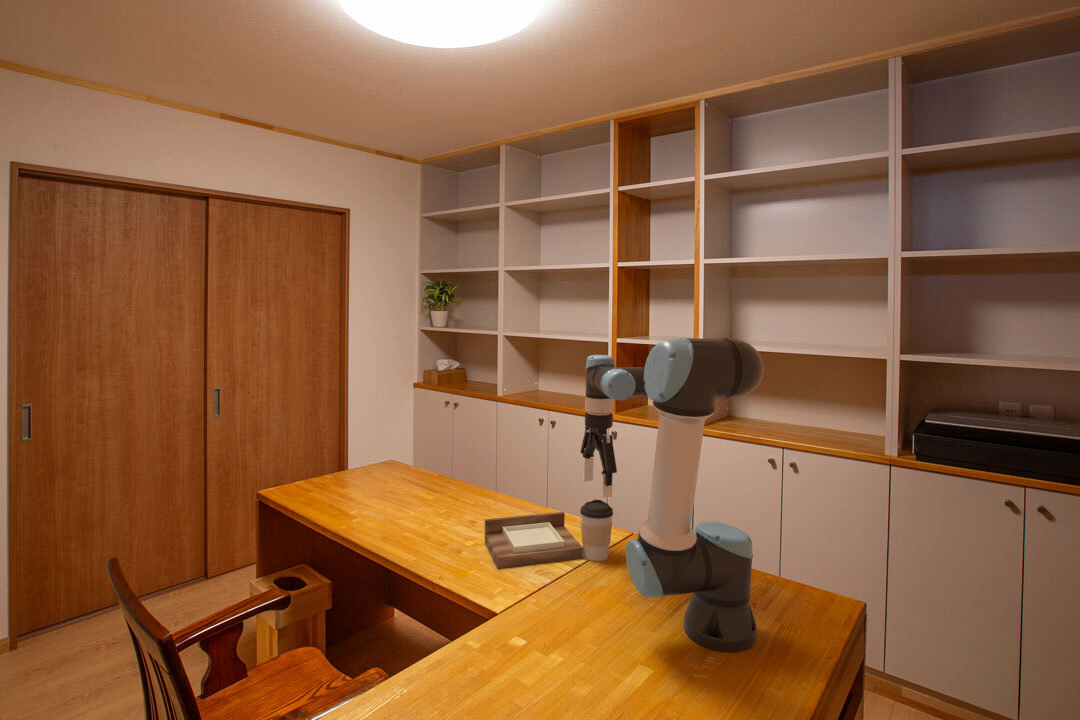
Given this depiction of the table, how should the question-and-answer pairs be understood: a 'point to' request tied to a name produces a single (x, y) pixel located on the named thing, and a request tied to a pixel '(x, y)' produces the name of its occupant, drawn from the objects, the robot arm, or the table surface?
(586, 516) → the coffee cup
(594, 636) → the table surface
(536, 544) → the tray
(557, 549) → the shelf
